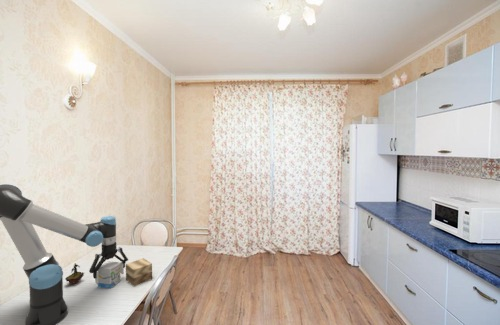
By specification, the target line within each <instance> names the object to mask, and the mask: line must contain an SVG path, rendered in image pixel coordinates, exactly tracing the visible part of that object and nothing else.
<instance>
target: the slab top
mask: <svg viewBox="0 0 500 325" xmlns="http://www.w3.org/2000/svg"><path fill="white" fill-rule="evenodd" d="M149 272H152V273H153V263H152V262H150V261H149V260H147V259H146V258H144V257H143V258H140V259H136V260H134V261H131V262H128V263H125V274H126V273H127V274H129V275H130V276H131V277H133V278H137V277H139V276H142V275H144V274H147V273H149Z"/></svg>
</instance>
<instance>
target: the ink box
mask: <svg viewBox="0 0 500 325" xmlns="http://www.w3.org/2000/svg"><path fill="white" fill-rule="evenodd" d="M120 263H121V262H119V261H112V260H111V261H108V260H107V261H106V262H104V263H103V264H102V265H101V267H100V268H99V270H98V271H97V272H98V282H99V284H97V287H98V288H102V287H103V288H104V289H111V288H113V287H114V286H116V285H117V284H118V283H120V282H121V273H120Z"/></svg>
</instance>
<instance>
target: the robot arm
mask: <svg viewBox="0 0 500 325" xmlns="http://www.w3.org/2000/svg"><path fill="white" fill-rule="evenodd" d="M116 220H117V219H116V217H115V216H113V215H107V216H104V217H101V219H100V221H98V222H92V223H91V222H90V223H87V224H83V223H81V222H79V221H77V220H73V219H71V218H69V217H66V216H64V215H61V214H60V213H57V212H54V211H51V210H49V209H47V208H44V207H42V206H39V205H37V204H35V203H33V200H31V199H28V198H26V197H25V196H24V195H23V193H22V190H21V189H20V188H19V187H17V186H16V185H12V184H8V183H7V184H2V183H1V184H0V221H1V223H2V224H3V226H4V228H5V230H6V232H7V233H8V235H9V237H10V239H11V241H12V243H13V245H14V246H15V248H16V250H17V251H18V253H19V255H20V258H22V259H21V260H23V262H24V265H23V266H22V270H23V271H24V273H25V275H26V277H27V279H28V284H29V310H28V312H27V315H26V318H25V321H24V325H57V324H58V323H60V322H62V320H64V319H65V318H66V317H67V316H68V313H69V308H68V305H67V303H66V301H65V298H64V285H63V284H64V282H63V281H64V279H63V277H64V276H63V275H64V271H63V267H62V265H61V266H60V264H59V262H58V261H57V260H56V258H55V255H54V254H53V253H52V252H47V250H46V248H45V247H44V244H43V243H42V241H41V238H40V236H39V235H38V233H37V231H36V229H35V227H34V226H37V227H40V228H42V229H46V230H48V231H51V232H53V233H56V234H59V235H62V236H65V237H68V238H71V239H74V240H77V241H79V242H81V243H85V244H86V245H87V246H89V247H92V248H94V247H97V246H99V245H101V253H99V254H98V253H96V254H95V255H94V257H95V258H94V260H93V262H92V263H91V266H90V268H89V270H88V271H89V274H92V276H93V279H95V280H94V281H95V282H94V283H95V284H97V285H98V284H99V282H98V270H99V268H100V267H101V265H103V264H105V263H106V261H108V260H110V259H114V257H115V259H118V260H119V261H120V262H119V263H120V275H124V273H125V272H124V269H126V264H127V262H128V261H129V258H128V257H127V255H126V254H125V253H124V251H123V247H120V246H119V247H118V248H117V221H116ZM118 252H119V254H120V255H121V256H122V258H121V257H120V256H118V254H117V253H118Z"/></svg>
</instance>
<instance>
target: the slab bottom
mask: <svg viewBox="0 0 500 325" xmlns="http://www.w3.org/2000/svg"><path fill="white" fill-rule="evenodd" d="M125 280H126V281H127V282H128V283H129V284H131V286H133V287H136V286H138V285H141V284H143V283H145V282H148V281H151V280H153V271H152V272H149V273H147V274H144V275H142V276H139V277H137V278H133V277H131V276H130V275H129V274H127V273H126V272H125Z"/></svg>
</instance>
